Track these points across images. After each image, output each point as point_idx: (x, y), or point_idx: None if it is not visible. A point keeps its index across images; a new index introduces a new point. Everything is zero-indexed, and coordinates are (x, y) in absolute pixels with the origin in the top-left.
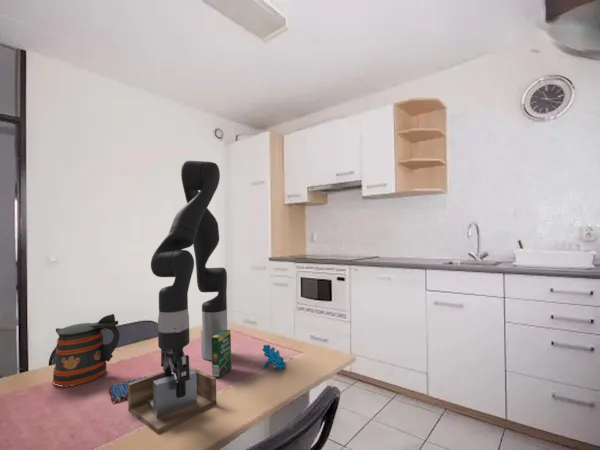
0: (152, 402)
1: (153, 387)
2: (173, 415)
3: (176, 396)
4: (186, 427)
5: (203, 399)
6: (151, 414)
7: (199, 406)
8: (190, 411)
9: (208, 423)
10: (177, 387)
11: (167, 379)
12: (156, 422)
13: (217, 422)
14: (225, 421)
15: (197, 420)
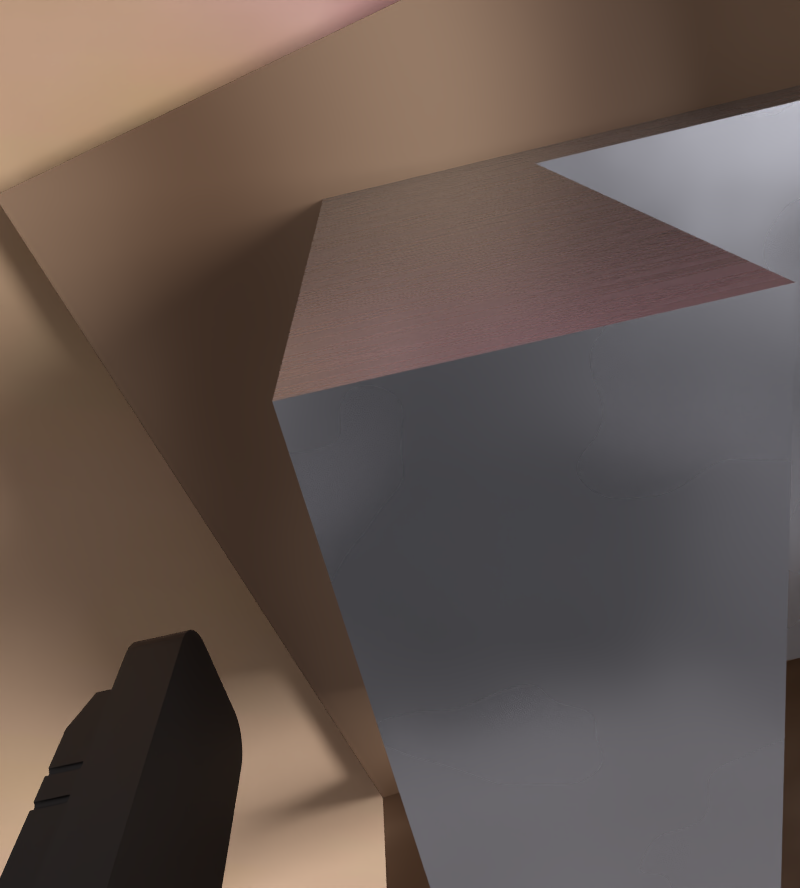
0: (734, 157)
1: (636, 246)
2: None
3: (146, 646)
4: (49, 510)
5: None
6: (496, 121)
7: (357, 689)
8: (288, 601)
9: (48, 695)
10: (67, 830)
11: (561, 726)
12: (197, 186)
13: (35, 759)
14: (27, 811)
15: (154, 618)
